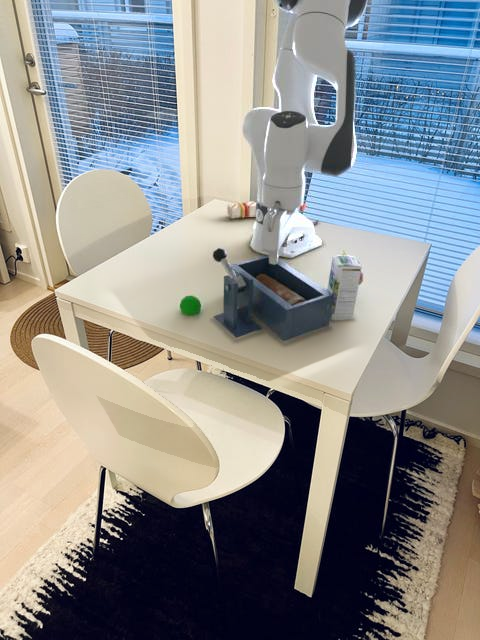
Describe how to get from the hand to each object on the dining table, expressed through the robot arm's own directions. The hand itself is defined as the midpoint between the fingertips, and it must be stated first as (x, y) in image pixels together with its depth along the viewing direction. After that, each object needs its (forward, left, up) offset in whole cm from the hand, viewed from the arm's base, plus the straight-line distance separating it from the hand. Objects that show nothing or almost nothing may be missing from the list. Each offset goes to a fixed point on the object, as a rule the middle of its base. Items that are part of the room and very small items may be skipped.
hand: (278, 254), depth 114 cm
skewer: (-32, -55, -16) cm, 66 cm away
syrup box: (-13, +9, -16) cm, 22 cm away
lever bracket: (+11, +1, -15) cm, 19 cm away
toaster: (0, 0, -15) cm, 16 cm away
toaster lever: (+11, -4, -4) cm, 13 cm away
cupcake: (-22, +1, -16) cm, 27 cm away
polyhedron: (+18, -9, -16) cm, 26 cm away
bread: (0, 0, -13) cm, 13 cm away
